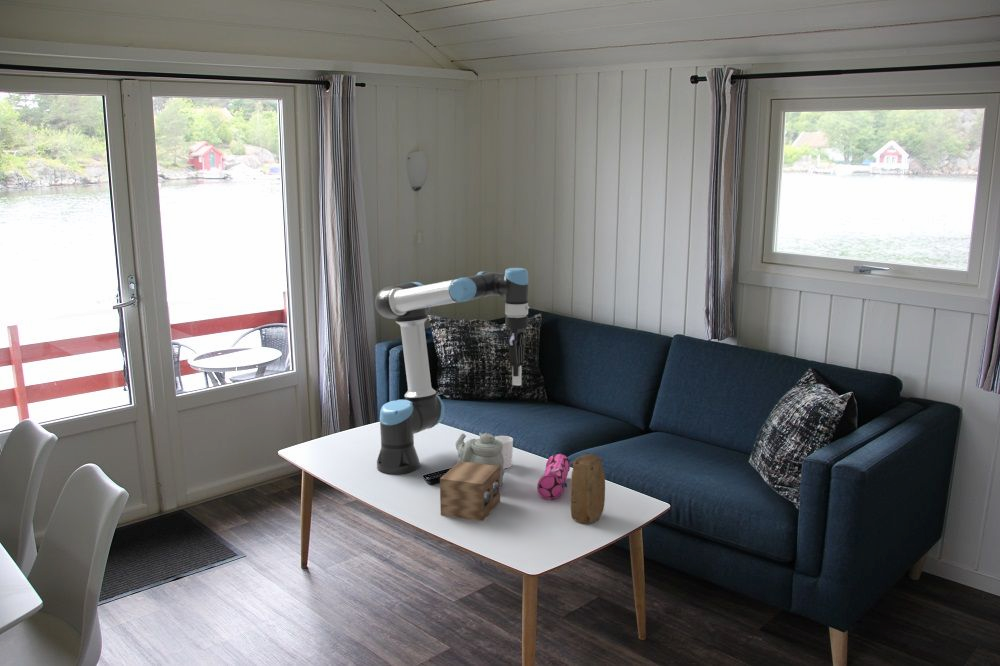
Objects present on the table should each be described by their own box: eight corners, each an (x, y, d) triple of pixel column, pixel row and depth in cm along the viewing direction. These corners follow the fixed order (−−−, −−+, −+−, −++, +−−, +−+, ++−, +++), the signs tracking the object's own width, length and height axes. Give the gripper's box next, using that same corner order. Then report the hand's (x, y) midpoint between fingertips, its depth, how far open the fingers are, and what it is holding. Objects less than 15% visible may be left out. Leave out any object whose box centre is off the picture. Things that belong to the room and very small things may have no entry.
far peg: (453, 490, 277) (453, 479, 276) (458, 486, 281) (458, 475, 280) (494, 496, 272) (494, 484, 272) (498, 491, 276) (498, 480, 275)
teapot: (455, 476, 301) (454, 424, 297) (498, 473, 303) (497, 421, 299) (461, 494, 285) (460, 440, 281) (506, 490, 287) (506, 437, 283)
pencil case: (566, 502, 278) (567, 472, 276) (537, 500, 280) (537, 471, 278) (571, 477, 299) (572, 450, 297) (544, 476, 300) (544, 448, 298)
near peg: (444, 500, 270) (443, 488, 269) (448, 495, 273) (448, 484, 272) (486, 506, 265) (485, 494, 264) (490, 501, 269) (490, 489, 268)
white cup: (513, 462, 314) (513, 435, 312) (512, 469, 306) (512, 443, 304) (492, 461, 314) (492, 435, 312) (490, 469, 307) (489, 442, 305)
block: (588, 527, 259) (589, 464, 255) (567, 520, 264) (568, 458, 260) (608, 515, 268) (609, 454, 263) (588, 509, 272) (589, 449, 268)
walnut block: (440, 514, 269) (439, 478, 266) (459, 495, 283) (459, 461, 281) (482, 520, 264) (482, 484, 262) (500, 501, 279) (499, 466, 276)
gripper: (521, 319, 276) (521, 390, 281) (533, 312, 288) (533, 380, 293) (499, 318, 278) (499, 388, 283) (512, 311, 290) (512, 379, 295)
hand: (516, 384), depth 288 cm, fingers closed
